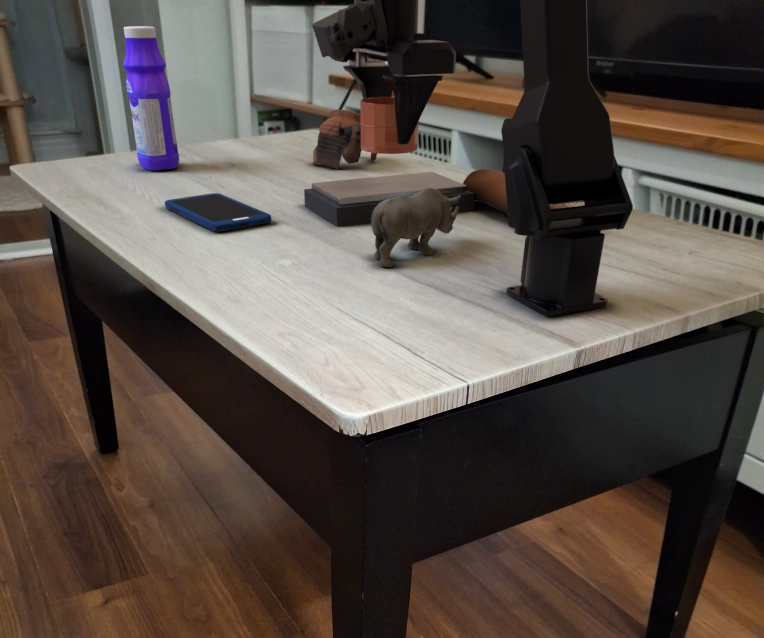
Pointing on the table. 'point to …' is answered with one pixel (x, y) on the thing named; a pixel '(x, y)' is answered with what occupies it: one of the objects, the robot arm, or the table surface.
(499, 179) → the sunglasses case
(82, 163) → the table surface
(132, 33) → the bottle
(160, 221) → the table surface
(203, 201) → the cell phone
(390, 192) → the scale
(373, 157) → the brown irregular curved piece
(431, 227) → the rhino figurine
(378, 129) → the cup
